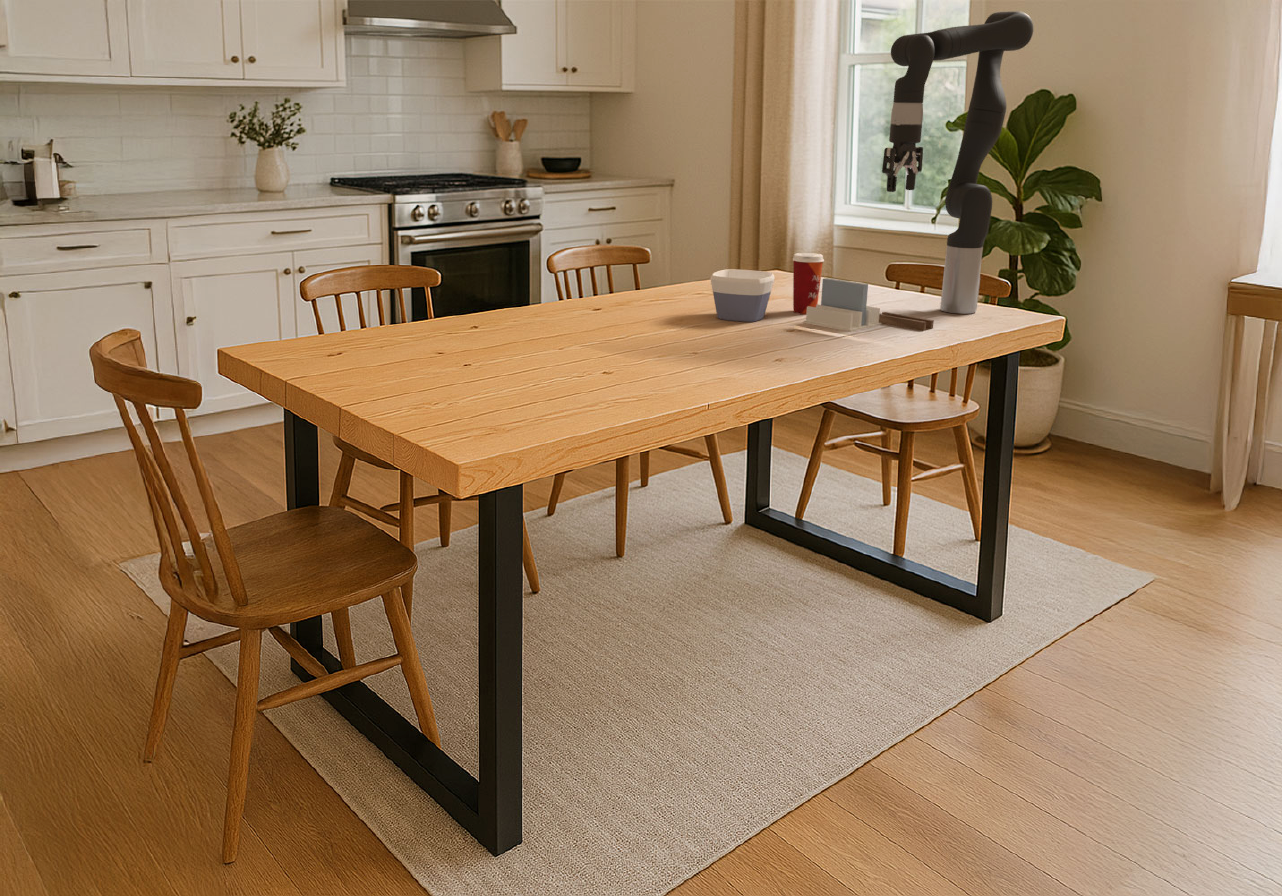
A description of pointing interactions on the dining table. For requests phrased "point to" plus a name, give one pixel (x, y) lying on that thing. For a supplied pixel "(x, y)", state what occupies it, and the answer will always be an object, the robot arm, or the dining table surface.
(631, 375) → the dining table surface
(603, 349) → the dining table surface
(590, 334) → the dining table surface
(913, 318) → the stand
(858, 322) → the rack
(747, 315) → the bowl
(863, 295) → the grey-blue flat slab
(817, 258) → the coffee cup
